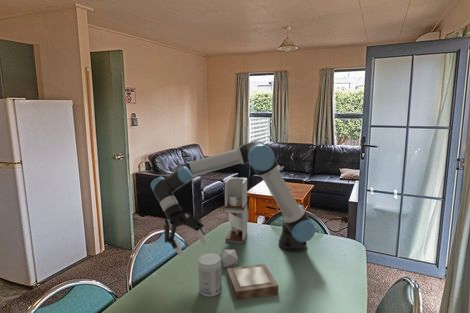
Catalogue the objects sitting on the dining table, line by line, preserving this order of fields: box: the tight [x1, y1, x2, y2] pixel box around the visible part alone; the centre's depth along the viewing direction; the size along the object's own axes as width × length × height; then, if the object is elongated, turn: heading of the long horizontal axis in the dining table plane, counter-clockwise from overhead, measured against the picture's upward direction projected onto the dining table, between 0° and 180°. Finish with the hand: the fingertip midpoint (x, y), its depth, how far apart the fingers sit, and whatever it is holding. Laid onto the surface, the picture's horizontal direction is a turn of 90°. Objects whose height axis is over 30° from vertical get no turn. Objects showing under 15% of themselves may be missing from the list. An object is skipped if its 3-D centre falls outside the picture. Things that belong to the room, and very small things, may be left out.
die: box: [220, 249, 239, 268], centre depth 150 cm, size 8×9×10 cm
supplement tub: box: [197, 253, 223, 298], centre depth 130 cm, size 10×10×15 cm
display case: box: [224, 176, 248, 244], centre depth 178 cm, size 11×11×35 cm
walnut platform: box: [226, 263, 279, 301], centre depth 135 cm, size 18×18×4 cm
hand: (193, 248), depth 135 cm, fingers open, 13 cm apart
